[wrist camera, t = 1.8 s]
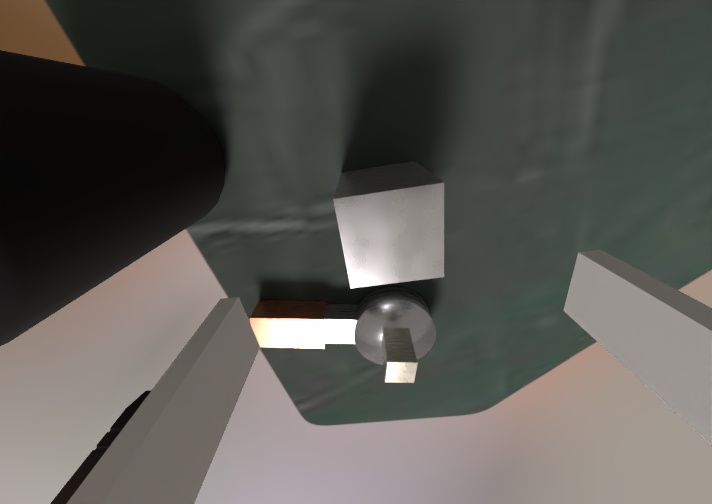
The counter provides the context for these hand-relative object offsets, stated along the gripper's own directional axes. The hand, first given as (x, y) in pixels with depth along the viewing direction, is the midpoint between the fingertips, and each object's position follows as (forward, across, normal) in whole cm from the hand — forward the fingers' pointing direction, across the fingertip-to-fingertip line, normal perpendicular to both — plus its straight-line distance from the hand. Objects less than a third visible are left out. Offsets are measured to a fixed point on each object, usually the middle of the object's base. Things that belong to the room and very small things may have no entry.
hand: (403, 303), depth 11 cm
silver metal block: (+14, 0, 0) cm, 14 cm away
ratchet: (+14, -5, -12) cm, 19 cm away
